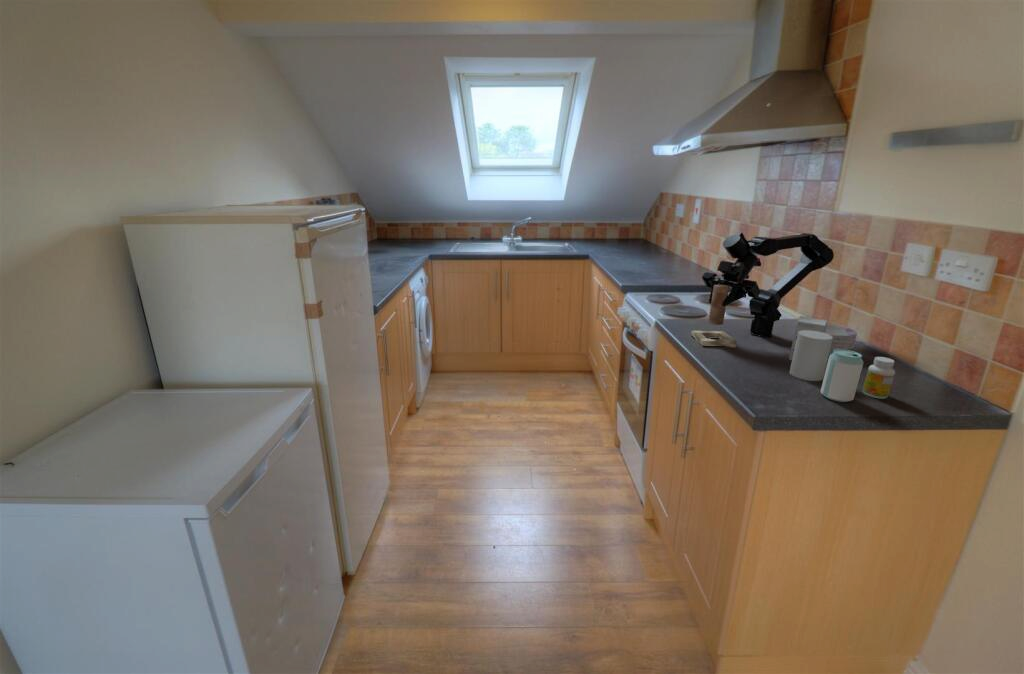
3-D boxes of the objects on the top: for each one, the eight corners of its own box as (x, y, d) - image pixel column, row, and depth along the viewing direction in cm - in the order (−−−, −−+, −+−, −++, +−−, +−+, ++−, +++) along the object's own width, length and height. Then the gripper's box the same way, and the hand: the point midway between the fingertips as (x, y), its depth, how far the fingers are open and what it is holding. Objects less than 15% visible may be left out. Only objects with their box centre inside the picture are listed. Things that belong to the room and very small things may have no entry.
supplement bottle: (856, 390, 124) (866, 355, 121) (875, 390, 124) (885, 355, 121) (873, 399, 119) (883, 363, 116) (893, 399, 119) (904, 363, 116)
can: (838, 390, 123) (849, 347, 119) (860, 402, 117) (872, 357, 113) (813, 391, 122) (824, 348, 119) (834, 404, 116) (846, 358, 112)
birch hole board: (722, 336, 165) (723, 331, 164) (735, 347, 154) (736, 341, 154) (690, 335, 165) (691, 330, 165) (701, 346, 155) (702, 340, 154)
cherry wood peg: (723, 322, 159) (729, 285, 155) (722, 325, 155) (728, 288, 151) (709, 320, 161) (714, 284, 157) (707, 323, 157) (713, 286, 153)
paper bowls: (795, 341, 162) (799, 318, 160) (848, 348, 155) (854, 325, 153) (796, 354, 149) (801, 330, 147) (854, 363, 143) (860, 338, 140)
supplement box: (787, 360, 144) (796, 320, 140) (791, 353, 150) (799, 315, 146) (815, 366, 140) (825, 325, 136) (818, 359, 146) (827, 319, 142)
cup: (818, 372, 135) (828, 332, 132) (826, 382, 128) (836, 341, 124) (786, 368, 138) (795, 328, 134) (792, 378, 131) (801, 337, 127)
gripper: (709, 248, 160) (683, 283, 158) (761, 255, 145) (734, 295, 143) (720, 269, 166) (695, 303, 164) (771, 278, 151) (745, 316, 149)
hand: (716, 304), depth 155 cm, fingers closed on cherry wood peg, 5 cm apart
